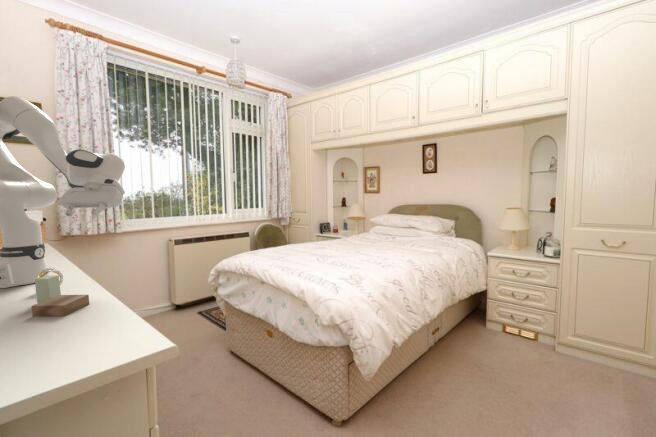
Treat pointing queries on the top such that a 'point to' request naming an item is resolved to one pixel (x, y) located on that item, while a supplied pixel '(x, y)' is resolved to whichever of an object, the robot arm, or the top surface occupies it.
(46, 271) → the ring
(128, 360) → the top surface
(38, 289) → the block
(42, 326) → the top surface
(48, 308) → the plinth
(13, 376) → the top surface
